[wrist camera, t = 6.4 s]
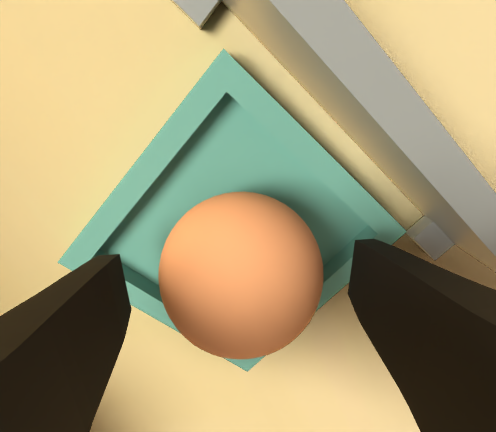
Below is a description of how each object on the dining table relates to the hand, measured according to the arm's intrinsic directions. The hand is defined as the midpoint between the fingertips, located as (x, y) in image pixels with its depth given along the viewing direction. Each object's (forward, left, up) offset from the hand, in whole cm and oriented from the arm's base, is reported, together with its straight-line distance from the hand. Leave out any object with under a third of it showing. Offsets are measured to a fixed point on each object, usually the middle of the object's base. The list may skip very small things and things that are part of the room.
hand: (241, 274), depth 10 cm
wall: (0, -6, -3) cm, 7 cm away
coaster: (0, 0, -3) cm, 3 cm away
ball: (0, 0, -3) cm, 3 cm away
